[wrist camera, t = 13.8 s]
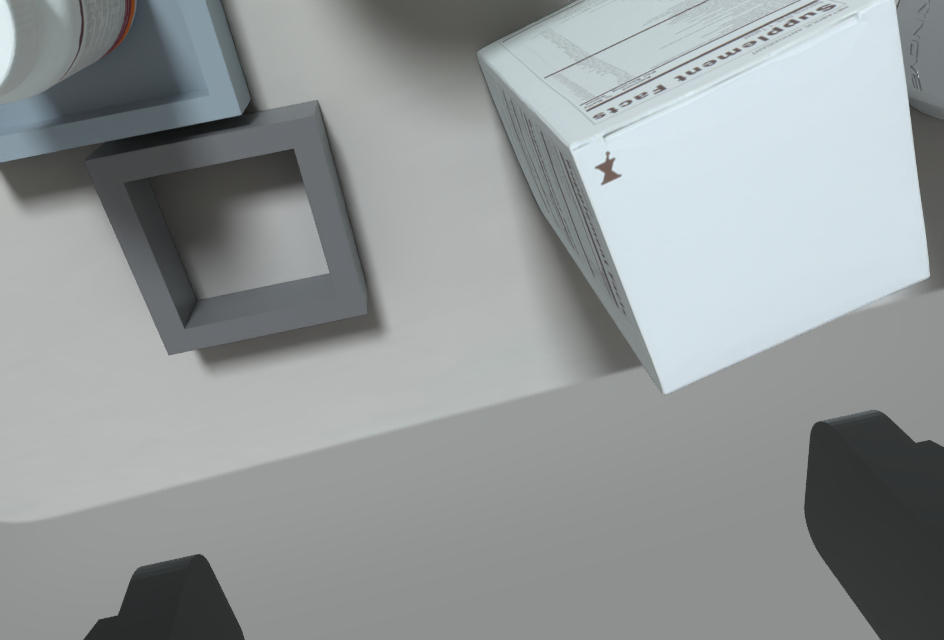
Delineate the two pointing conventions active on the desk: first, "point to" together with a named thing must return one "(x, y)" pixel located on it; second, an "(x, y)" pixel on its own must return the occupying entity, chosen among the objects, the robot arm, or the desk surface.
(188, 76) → the parts tray
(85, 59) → the pill bottle
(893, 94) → the supplement box
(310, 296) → the gray hollow square frame
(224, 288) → the desk surface
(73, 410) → the desk surface
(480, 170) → the desk surface
